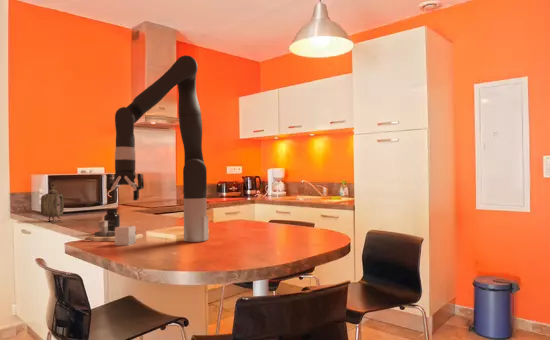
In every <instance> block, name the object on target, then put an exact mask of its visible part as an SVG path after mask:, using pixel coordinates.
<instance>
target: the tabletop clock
mask: <svg viewBox="0 0 550 340" xmlns="http://www.w3.org/2000/svg"><path fill="white" fill-rule="evenodd" d="M52 185H54V186H52ZM50 188H51V189H50V190H49V191H48V193H45V194H43V195H42V196H41V197H40V214H41V216H43V217H45V218H46V217H48V219H47V220H50V221H51V218H52V222H53V221H54V220H55V217H57V219H61V220H62V218H61V216H63V214H64V211H65V210H64V207H65V202H64V193H61V192H60V193H59V192H58V191H57V189H55V188H56V184H55V182H54V181H52V182H50Z"/></svg>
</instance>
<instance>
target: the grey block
mask: <svg viewBox="0 0 550 340" xmlns="http://www.w3.org/2000/svg"><path fill="white" fill-rule="evenodd" d="M135 231H136V225H120V227H115V242H114V246H131V245H134V244H136V241H137V240H136V239H135Z"/></svg>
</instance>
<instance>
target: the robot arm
mask: <svg viewBox="0 0 550 340" xmlns="http://www.w3.org/2000/svg"><path fill="white" fill-rule="evenodd" d="M198 68H199V66H198V63H197V60H196V59H195V58H194V57H192V56H191V55H185V54H184V55H182V56H180V57H178V58H177V59H176V61H174V63H173V64H172V65H171V66H170V68H169V69H167V71H166V72H165V73H164V74H163V75H161V76H160V77H159V78H158V79H157V80H156V81H154V82H153V83H152V84H151V85H149V86H147V87H146V88H145V89H144V90H143V91H141V92H140V93H139V94H138V95H137V96H135V98H133V100H132V101H131V103H129V104H128V105H127V106H121V107H119V108H118V109H117V110H116V111H115V114H114V124H115V125H114V126H115V127H114V128H115V149H114V150H115V151H114V172H115V173H114V174H112V173H108V174H106V187H105V188H106V189H107V190H110V192H111V199H112V201H114V202H115V201H117V200H118V189H119V187H120V186H124V185H125V186H126V185H127V186H130V187H131V188H132V189H133V191H132V192H133V197H132V198H133V201H138V199H139V198H140V190H143V189H144V188H145V186H144V185H145V182H144V174H143V173H138V174H137V173H136V146H135V145H136V143H135V142H136V141H135V140H136V139H135V133H134V132H135V131H134V129H135V126H134V125H135V124H136V123H137V122H138V121H139V120H140V119H141V118H142V117H143V116H144V115H145V114H146V113H147V112H149V111H150V110H152V109H153V108H154V107H155V106H156V105H157V104H158V103H159V102H160V101H162V99H164V97H166V95H168V93H169V92H170V91H171V90H172V89H173V88H174V87H176V86H177V91H178V103H177V104H178V107H177V108H178V110H177V111H178V124H179V132H180V137H181V142H182V143H183V153H184V157H183V158H184V164H183V165H184V166H183V170H182V180H183V182H182V183H183V184H182V186H183V187H182V188H183V189H182V192H183V241H184V242H188V243H194V242H195V243H196V242H205V241H207V240H209V215H207V213H208V212H207V211H208V209H207V206H208V205H207V204H208V202H207V201H208V200H207V197H208V196H207V195H208V194H207V193H208V192H207V189H208V188H207V187H208V185H207V183H208V182H207V178H208V176H207V170H208V169H207V166H206V164H205V160H204V155H203V148H202V146H203V145H202V144H203V143H202V142H203V121H202V111H201V107H200V102H199V99H198V94H197V74H198ZM114 179H115V181H114ZM135 179H136V180H137V182H136V181H135Z"/></svg>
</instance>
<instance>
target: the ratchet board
mask: <svg viewBox="0 0 550 340" xmlns="http://www.w3.org/2000/svg"><path fill="white" fill-rule="evenodd" d="M142 237H143V238H144V235H143V234H142V233H137V231H136V230H135V239H137V240H140V239H143V238H142ZM139 238H140V239H139ZM85 240H95V241H94V242H100V241H115V231H108V221H104V220H100V221H98V231H95V232H94V235H91V236H86V237H84V241H85Z"/></svg>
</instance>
